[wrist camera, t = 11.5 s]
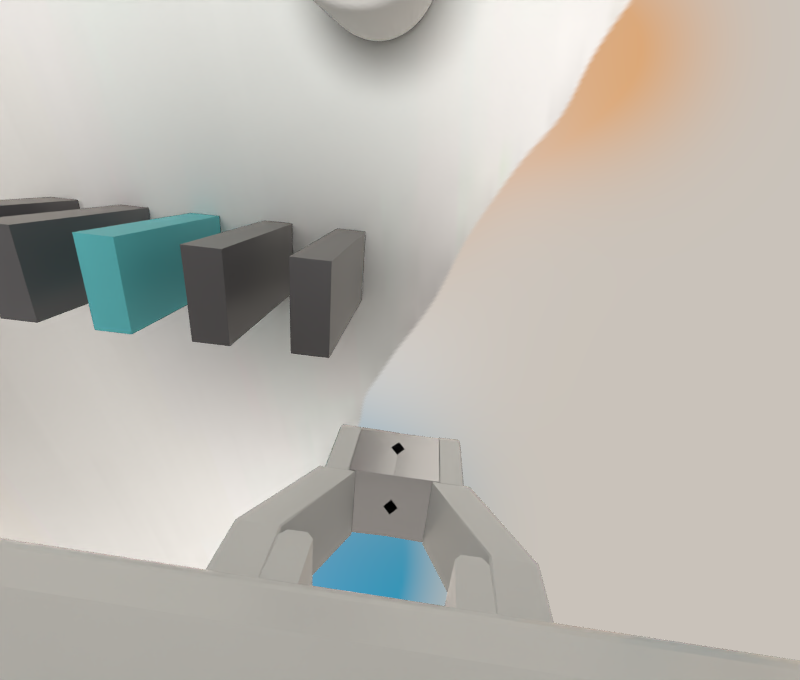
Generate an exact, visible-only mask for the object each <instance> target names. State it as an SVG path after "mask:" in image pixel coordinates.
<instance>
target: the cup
mask: <svg viewBox="0 0 800 680" xmlns="http://www.w3.org/2000/svg"><path fill="white" fill-rule="evenodd" d="M313 1H314V2H315V3H317V4H318V5H319V6H320V7H321V8H322V9H323V10H324V11H325V12H326V13H327V14H328V15H330V16H331V17H332V18H333V19H334V20H335V21H336V22H337V23H338V24H339V25H341V26H342V27H343V28H344V29H346V30H347V31H348V32H350V33H352V34H353V35H355V36H358V37H360V38H363V39H366V40H371V41H386V40H391V39H394V38H397V37H399V36H401V35H403V34H405V33H406V32H408V31H409V30H410V29H412V28H413V27H414V26H415V25H416V24H417V23H418V22H419V21H420V20H421V18H422V17H423V16H424V14H425V13H426V11H427V10H428V8H429V6H430V4H431V3H432V1H433V0H313Z"/></svg>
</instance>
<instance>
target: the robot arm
mask: <svg viewBox="0 0 800 680" xmlns="http://www.w3.org/2000/svg"><path fill="white" fill-rule="evenodd" d="M351 532H357V533H366V534H375V535H383V536H390V537H395V538H401V539H407V540H413V541H418V542H423V546H424V548H425V550H426V552H427V554H428V555H429V558H430V559H431V561H432V563H433V565H434V567H435V569H436V571H437V573H438V575H439V577H440V579H441V581H442V583H443V584H444V587H445V588H446V590H447V592H448V593H447V598H446V603H445V606H440V605H434V604H428V603H421V602H414V601H408V600H401V599H395V598H388V597H382V596H375V595H369V594H362V593H356V592H349V591H342V590H336V589H329V588H323V587H316V586H312V575H313V574H314V573H315V572H316V571H317V570H318V568H319V567H321V565H322V564H323V563H324V562H325V561H326V560H327V559H328V558H329V557H330V556H331V555H332V554H333V553H334V552H335V551H336V550H337V549H338V547H339V546H340V545H341V544H342V543H343V542H344V541H345V540H346V539H347V538H348V537H349V536H350V535H351ZM0 680H800V661H799V660H793V659H786V658H780V657H773V656H767V655H760V654H754V653H747V652H740V651H733V650H728V649H720V648H715V647H707V646H702V645H695V644H688V643H682V642H675V641H668V640H662V639H656V638H649V637H643V636H636V635H629V634H623V633H616V632H610V631H603V630H596V629H590V628H584V627H577V626H570V625H564V624H557V623H554V622H553V618H552V614H551V610H550V606H549V602H548V599H547V595H546V591H545V587H544V583H543V579H542V575H541V571H540V567H539V565H538V563H537V562H536V561H535V560H534V559H533V558H532V557H531V555H530V554H529V553H528V552H527V551H526V550H525V549H524V548H523V546H522V545H521V544H520V543H519V542H518V541H517V540H516V539H515V537H514V536H513V535H512V534H511V533H510V532H509V531H508V530H507V528H506V527H505V526H504V525H503V524H502V523H501V522H500V521H499V519H498V518H497V517H496V516H495V515H494V514H493V513H492V512H491V510H490V509H489V508H488V507H487V506H486V505H485V504H484V503H483V501H482V500H481V499H480V498H479V497H478V496H477V495H476V494H475V492H474V491H473V490H472V489H471V488H470V487H467V486H464V485H463V472H462V460H461V449H460V442H459V440H455V439H445V438H431V437H423V436H415V435H408V434H400V433H396V432H390V431H383V430H377V429H370V428H364V427H363V428H361V427H357V426H350V425H342V426H341V427H340V430H339V432H338V435H337V438H336V440H335V443H334V445H333V448H332V451H331V453H330V456H329V458H328V461H327V463H326V466H325V467H323V466H319V467H317V468H316V469H314V470H312V471H311V472H309V473H308V474H306V475H305V476H303V477H301V478H300V479H298V480H297V481H295V482H294V483H292V484H290V485H289V486H287V487H286V488H284V489H283V490H281V491H279V492H278V493H276V494H275V495H273V496H272V497H270V498H268V499H267V500H265V501H264V502H262V503H261V504H259V505H257V506H256V507H254V508H253V509H251V510H250V511H248V512H246V513H245V514H243V515H242V516H240V517H239V518H237V519H235V521H234V523H233V524H232V526H231V528H230V530H229V531H228V533H227V535H226V536H225V538H224V540H223V541H222V543H221V545H220V546H219V548H218V550H217V551H216V553H215V555H214V557H213V558H212V560H211V562H210V563H209V565H208V567H207V568H206V570H205V569H199V568H192V567H186V566H179V565H172V564H166V563H159V562H153V561H146V560H140V559H133V558H127V557H120V556H114V555H107V554H101V553H94V552H88V551H81V550H74V549H68V548H61V547H55V546H48V545H42V544H35V543H29V542H22V541H16V540H9V539H3V538H0Z"/></svg>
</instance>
